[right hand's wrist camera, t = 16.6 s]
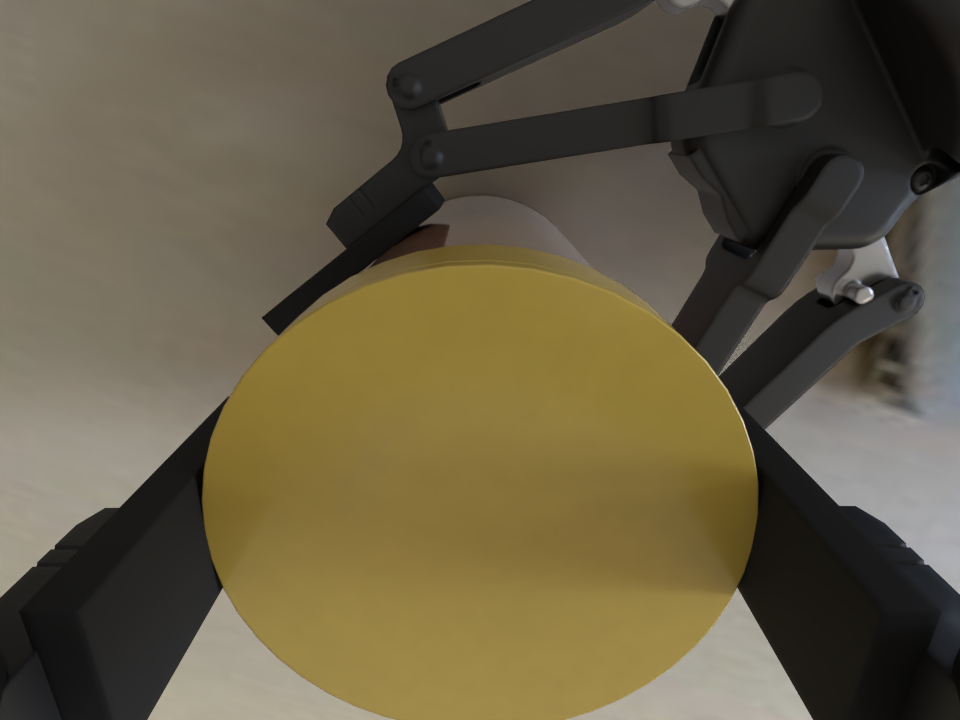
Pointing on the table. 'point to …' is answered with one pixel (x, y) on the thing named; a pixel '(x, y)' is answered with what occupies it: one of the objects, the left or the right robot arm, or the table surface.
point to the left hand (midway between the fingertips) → (382, 423)
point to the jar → (485, 229)
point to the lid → (480, 489)
